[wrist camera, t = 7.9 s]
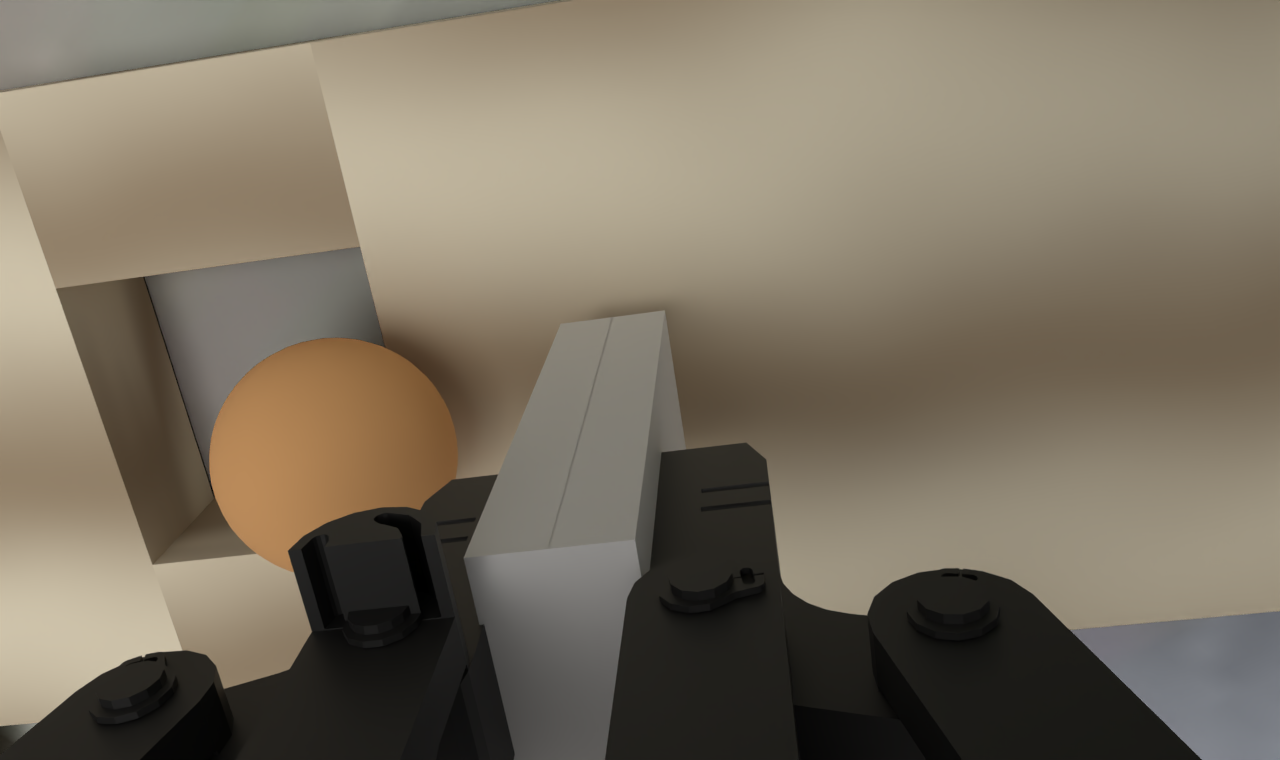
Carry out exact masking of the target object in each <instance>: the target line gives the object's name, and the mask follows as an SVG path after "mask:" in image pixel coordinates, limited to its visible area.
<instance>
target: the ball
mask: <svg viewBox="0 0 1280 760" xmlns="http://www.w3.org/2000/svg"><path fill="white" fill-rule="evenodd" d="M457 466H458V446H457V438H456V433H455V428H454V425H453V421H452V418H451V415H450V412H449V410H448V408H447V406H446V404H445V402H444V400H443V398H442V397H441V395H440V394H439V392H438V391H437V389H436V387H435V386H434V385H433V383H432V382H431V381H430V380H429V379H428V378H427V376H426V375H425V374H423V373H422V372H421V371H420V370H419V369H418V368H417V367H416V366H414V365H413V364H412V363H411V362H410V361H408V360H407V359H405V358H403V357H402V356H400V355H399V354H397V353H395V352H393V351H391V350H389V349H387V348H384V347H382V346H380V345H376V344H373V343H369V342H365V341H362V340H357V339H348V338H322V339H317V340H311V341H306V342H301V343H298V344H295V345H292V346H289V347H287V348H285V349H283V350H281V351H279V352H277V353H275V354H273V355H271V356H269V357H267V358H266V359H264V360H263V361H261V362H260V363H258V364H257V365H256V366H255V367H254V368H252V369H251V370H250V371H249V372H248V373H247V374H246V375H245V376H244V377H243V378H242V379H241V380H240V381H239V382H238V384H237V385H236V386H235V387H234V389H233V390H232V392H231V393H230V394H229V396H228V397H227V399H226V401H225V402H224V404H223V406H222V408H221V410H220V412H219V415H218V417H217V420H216V422H215V425H214V429H213V433H212V437H211V444H210V452H209V469H210V477H211V484H212V488H213V491H214V495H215V498H216V501H217V503H218V505H219V507H220V510H221V512H222V514H223V516H224V518H225V519H226V521H227V522H228V524H229V526H230V527H231V529H232V530H233V531H234V532H235V533H236V535H237V536H238V537H239V538H240V539H241V540H242V541H243V542H244V543H245V544H246V545H247V546H248V547H249V548H250V549H251V550H253V551H254V552H255V553H256V554H258V555H259V556H261V557H263V558H264V559H266V560H267V561H269V562H271V563H272V564H274V565H276V566H278V567H281V568H283V569H286V570H288V571H291V572H294V571H293V567H292V564H291V561H290V557H289V554H288V550H289V549H290V548H291V547H292V546H293V545H294V544H295V543H296V542H298V541H299V540H300V539H301V538H302V537H303V536H304V535H306V534H308V533H309V532H311V531H313V530H315V529H317V528H318V527H320V526H322V525H324V524H325V523H327V522H330V521H333V520H336V519H338V518H341V517H344V516H347V515H349V514H352V513H356V512H361V511H366V510H371V509H376V508H381V507H410V508H414V509H418V510H421V508H422V506H423V504H424V502H425V501H426V500H427V499H429V498H430V497H431V496H432V495H434V494H435V493H436V492H437V491H439V490H440V489H441V488H442V487H444V486H445V485H446V484H447V483H449V482H450V481H451V480H453V479H456V473H457Z"/></svg>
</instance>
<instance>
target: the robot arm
mask: <svg viewBox="0 0 1280 760" xmlns="http://www.w3.org/2000/svg"><path fill="white" fill-rule="evenodd" d="M288 554H289V557H290V561H291V564H292V567H293V571H294V574H295V577H296V581H297V584H298V587H299V591H300V594H301V597H302V601H303V604H304V607H305V610H306V614H307V617H308V620H309V624H310V627H311V630H312V632H311V634H310V636H309V637H308V639H307V641H306V642H305V644H304V646H303V647H302V649H301V651H300V653H299V654H298V656H297V658H296V659H295V661H294V663H293V664H292V666H291V668H290V669H289V670H286V671H283V672H280V673H277V674H274V675H270V676H267V677H263V678H260V679H256V680H253V681H250V682H246V683H243V684H239V685H236V686H232V687H229V688H225V689H224V688H223V685H222V682H221V679H220V676H219V673H218V670H217V667H216V665H215V664H214V663H213V662H212V661H211V660H210V658H209V657H208V656H207V655H205V654H201V653H197V652H192V651H188V650H183V651H170V652H155V653H150V654H146V655H145V657H142V655H141V656H138V657H135V658H132V659H129V660H127V661H125V662H123V663H122V664H121V665H120V666H118V667H116V668H114V669H111V670H109V671H107V672H105V673H103V674H101V675H99V676H98V677H96V678H95V679H93V680H92V681H90V682H89V683H88V684H86V685H85V686H83V687H82V688H80V689H79V690H77V691H76V692H74V693H73V694H72V695H71V696H70V697H69V698H67V699H66V700H65V701H64V702H63V703H61V704H60V705H59V706H58V707H57V708H55V709H54V710H53V711H52V712H51V713H49V714H48V715H47V716H46V717H45V718H44V719H42V720H41V721H40V722H39V723H38V724H36V725H35V726H34V727H33V728H32V729H30V730H29V731H28V732H27V733H26V734H24V735H23V736H22V737H21V738H20V739H18V740H17V741H16V742H15V743H14V744H13V745H11V746H10V747H9V748H8V749H7V750H5V751H4V752H3V753H2V754H1V755H0V760H1202V759H1200V758H1199V757H1198V756H1197V755H1196V754H1195V753H1194V752H1193V751H1192V750H1191V749H1190V748H1189V747H1188V746H1187V745H1186V744H1185V743H1184V742H1183V741H1182V740H1181V739H1180V738H1179V737H1178V736H1177V735H1176V734H1175V733H1174V732H1173V731H1172V730H1171V729H1170V728H1169V727H1168V726H1167V725H1166V724H1165V723H1164V722H1163V721H1162V720H1161V719H1160V718H1159V717H1158V716H1157V715H1156V714H1155V713H1154V712H1153V711H1152V710H1151V709H1150V708H1149V707H1148V706H1147V705H1145V704H1144V703H1143V702H1142V701H1141V700H1140V699H1139V698H1138V697H1137V696H1136V695H1135V694H1134V693H1133V692H1132V691H1131V690H1130V689H1129V688H1128V687H1127V686H1126V685H1125V684H1124V683H1123V682H1122V681H1121V680H1120V679H1119V678H1118V677H1117V676H1116V675H1115V674H1114V673H1113V672H1112V671H1111V670H1110V669H1109V668H1108V667H1107V666H1106V665H1105V664H1104V663H1103V662H1102V661H1101V660H1100V659H1099V658H1098V657H1097V656H1096V655H1095V654H1094V653H1093V652H1092V651H1090V650H1089V649H1088V648H1087V647H1086V646H1085V645H1084V644H1083V643H1082V642H1081V641H1080V640H1079V639H1078V638H1077V637H1076V636H1075V635H1074V634H1073V633H1072V632H1071V631H1070V630H1069V629H1068V628H1067V627H1066V626H1065V625H1064V624H1063V623H1062V622H1061V621H1060V620H1059V619H1058V618H1057V617H1056V616H1055V615H1054V614H1053V613H1052V612H1051V611H1050V610H1049V609H1048V608H1047V607H1046V606H1045V605H1044V604H1043V603H1042V602H1041V601H1040V600H1039V599H1038V598H1037V597H1035V596H1034V595H1033V594H1032V593H1031V592H1029V591H1028V590H1026V589H1024V588H1023V587H1021V586H1020V585H1018V584H1017V583H1015V582H1014V581H1012V580H1010V579H1007V578H1004V577H1000V576H997V575H994V574H990V573H987V572H984V571H978V570H971V569H964V568H963V569H959V568H943V569H940V570H933V571H925V572H918V573H916V574H913V575H910V576H907V577H905V578H902V579H899V580H896V581H894V582H892V583H891V584H889V585H888V586H887V587H886V588H884V589H883V590H882V591H880V592H879V593H878V594H877V595H875V596H874V598H873V601H872V603H871V606H870V608H869V611H868V613H867V615H858V614H849V613H843V612H837V611H832V610H827V609H824V608H821V607H818V606H815V605H812V604H809V603H807V602H805V601H804V600H802V599H800V598H799V597H797V596H796V595H794V594H793V593H792V592H791V591H790V590H789V589H788V588H787V587H786V586H785V585H784V584H783V581H782V578H781V572H780V564H779V556H778V548H777V540H776V532H775V524H774V516H773V508H772V500H771V492H770V484H769V476H768V468H767V460H766V459H765V458H764V457H763V456H762V455H761V454H759V453H758V452H757V451H756V450H755V449H753V448H752V447H751V446H750V445H749V444H748V443H737V444H729V445H720V446H711V447H703V448H694V449H686V445H685V439H684V432H683V426H682V419H681V413H680V406H679V399H678V393H677V386H676V380H675V373H674V367H673V360H672V353H671V347H670V340H669V334H668V327H667V321H666V314H665V310H663V311H656V312H648V313H640V314H633V315H625V316H617V317H609V318H602V319H594V320H586V321H579V322H571V323H563V324H560V327H559V329H558V332H557V334H556V336H555V339H554V341H553V344H552V346H551V348H550V351H549V353H548V356H547V358H546V361H545V363H544V365H543V368H542V370H541V373H540V375H539V377H538V380H537V382H536V385H535V387H534V389H533V392H532V394H531V397H530V399H529V402H528V404H527V406H526V409H525V411H524V414H523V416H522V418H521V421H520V423H519V426H518V428H517V430H516V433H515V435H514V438H513V440H512V442H511V445H510V447H509V450H508V452H507V455H506V457H505V459H504V462H503V464H502V467H501V469H500V471H499V474H496V475H488V476H479V477H470V478H462V479H453V480H451V481H450V482H449V483H447V484H446V485H445V486H444V487H442V488H441V489H440V490H439V491H437V492H436V493H435V494H434V495H432V496H431V497H430V498H429V499H427V500H426V501H425V502H424V504H423V506H422V508H421V510H418V509H414V508H410V507H381V508H376V509H371V510H366V511H361V512H356V513H352V514H349V515H347V516H344V517H341V518H338V519H336V520H333V521H330V522H327V523H325V524H324V525H322V526H320V527H318V528H317V529H315V530H313V531H311V532H309V533H308V534H306V535H304V536H303V537H302V538H301V539H300V540H299V541H298V542H296V543H295V544H294V545H293V546H292V547H291V548H290V549H289V550H288Z"/></svg>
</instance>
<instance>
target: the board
mask: <svg viewBox="0 0 1280 760" xmlns="http://www.w3.org/2000/svg"><path fill="white" fill-rule="evenodd" d="M353 247H360V248H361V252H362V256H363V260H364V264H365V268H366V272H367V276H368V280H369V284H370V288H371V292H372V296H373V301H374V305H375V309H376V313H377V317H378V321H379V325H380V329H381V333H382V337H383V341H384V345H385V348H387V349H389V350H391V351H393V352H395V353H397V354H399V355H400V356H402V357H403V358H405V359H407V360H408V361H410V362H411V363H412V364H413V365H414V366H416V367H417V368H418V369H419V370H420V371H421V372H422V373H423V374H425V375H426V376H427V378H428V379H429V380H430V381H431V382H432V383H433V385H434V386H435V387H436V389H437V391H438V392H439V394H440V395H441V397H442V398H443V400H444V402H445V404H446V406H447V408H448V410H449V412H450V415H451V418H452V421H453V425H454V428H455V433H456V438H457V446H458V466H457V473H456V479H462V478H470V477H479V476H488V475H496V474H499V471H500V469H501V467H502V464H503V462H504V459H505V457H506V455H507V452H508V450H509V447H510V445H511V442H512V440H513V438H514V435H515V433H516V430H517V428H518V426H519V423H520V421H521V418H522V416H523V414H524V411H525V409H526V406H527V404H528V402H529V399H530V397H531V394H532V392H533V389H534V387H535V385H536V382H537V380H538V377H539V375H540V373H541V370H542V368H543V365H544V363H545V361H546V358H547V356H548V353H549V351H550V348H551V346H552V344H553V341H554V339H555V336H556V334H557V332H558V329H559V327H560V324H563V323H571V322H579V321H586V320H594V319H602V318H609V317H617V316H625V315H633V314H640V313H648V312H656V311H663V310H665V314H666V321H667V327H668V334H669V340H670V347H671V353H672V360H673V367H674V373H675V380H676V386H677V393H678V399H679V406H680V413H681V419H682V426H683V432H684V439H685V445H686V449H694V448H703V447H711V446H720V445H729V444H737V443H748V444H749V445H750V446H751V447H752V448H753V449H755V450H756V451H757V452H758V453H759V454H761V455H762V456H763V457H764V458H765V459H766V460H767V468H768V476H769V484H770V492H771V500H772V508H773V516H774V524H775V532H776V540H777V548H778V556H779V564H780V572H781V578H782V581H783V584H784V585H785V586H786V587H787V588H788V589H789V590H790V591H791V592H792V593H793V594H794V595H796V596H797V597H799V598H800V599H802V600H804V601H805V602H807V603H809V604H812V605H815V606H818V607H821V608H824V609H827V610H832V611H837V612H843V613H849V614H858V615H867V613H868V611H869V608H870V606H871V603H872V601H873V598H874V596H875V595H877V594H878V593H879V592H880V591H882V590H883V589H884V588H886V587H887V586H888V585H889V584H891V583H892V582H894V581H896V580H899V579H902V578H905V577H907V576H910V575H913V574H916V573H918V572H925V571H933V570H940V569H943V568H959V569H963V568H964V569H971V570H978V571H984V572H987V573H990V574H994V575H997V576H1000V577H1004V578H1007V579H1010V580H1012V581H1014V582H1015V583H1017V584H1018V585H1020V586H1021V587H1023V588H1024V589H1026V590H1028V591H1029V592H1031V593H1032V594H1033V595H1034V596H1035V597H1037V598H1038V599H1039V600H1040V601H1041V602H1042V603H1043V604H1044V605H1045V606H1046V607H1047V608H1048V609H1049V610H1050V611H1051V612H1052V613H1053V614H1054V615H1055V616H1056V617H1057V618H1058V619H1059V620H1060V621H1061V622H1062V623H1063V624H1064V625H1065V626H1066V627H1067V628H1068V629H1069V630H1075V629H1086V628H1097V627H1108V626H1119V625H1130V624H1142V623H1153V622H1164V621H1175V620H1186V619H1197V618H1208V617H1220V616H1231V615H1242V614H1253V613H1264V612H1275V611H1280V0H559V1H553V2H547V3H541V4H535V5H528V6H522V7H516V8H510V9H504V10H497V11H491V12H485V13H479V14H473V15H466V16H460V17H454V18H448V19H442V20H435V21H429V22H423V23H417V24H411V25H404V26H398V27H392V28H386V29H380V30H373V31H367V32H361V33H355V34H349V35H342V36H336V37H330V38H324V39H318V40H311V41H305V42H299V43H293V44H287V45H280V46H274V47H268V48H262V49H256V50H249V51H243V52H237V53H231V54H225V55H218V56H212V57H206V58H200V59H194V60H187V61H181V62H175V63H169V64H163V65H156V66H150V67H144V68H138V69H132V70H125V71H119V72H113V73H107V74H101V75H94V76H88V77H82V78H76V79H70V80H63V81H57V82H51V83H45V84H39V85H32V86H26V87H20V88H14V89H8V90H1V91H0V726H5V725H17V724H28V723H39V722H40V721H41V720H42V719H44V718H45V717H46V716H47V715H48V714H49V713H51V712H52V711H53V710H54V709H55V708H57V707H58V706H59V705H60V704H61V703H63V702H64V701H65V700H66V699H67V698H69V697H70V696H71V695H72V694H73V693H74V692H76V691H77V690H79V689H80V688H82V687H83V686H85V685H86V684H88V683H89V682H90V681H92V680H93V679H95V678H96V677H98V676H99V675H101V674H103V673H105V672H107V671H109V670H111V669H114V668H116V667H118V666H120V665H121V664H122V663H123V662H125V661H127V660H129V659H132V658H135V657H138V656H141V655H142V657H145V655H146V654H150V653H155V652H170V651H183V650H188V651H192V652H197V653H201V654H205V655H207V656H208V657H209V658H210V660H211V661H212V662H213V663H214V664H215V665H216V667H217V670H218V673H219V676H220V679H221V682H222V685H223V688H224V689H225V688H229V687H232V686H236V685H239V684H243V683H246V682H250V681H253V680H256V679H260V678H263V677H267V676H270V675H274V674H277V673H280V672H283V671H286V670H289V669H290V668H291V666H292V664H293V663H294V661H295V659H296V658H297V656H298V654H299V653H300V651H301V649H302V647H303V646H304V644H305V642H306V641H307V639H308V637H309V636H310V634H311V632H312V630H311V627H310V624H309V620H308V617H307V614H306V610H305V607H304V604H303V601H302V597H301V594H300V591H299V587H298V584H297V581H296V577H295V574H294V572H291V571H288V570H286V569H283V568H281V567H278V566H276V565H274V564H272V563H271V562H269V561H267V560H266V559H264V558H263V557H261V556H259V555H258V554H256V553H255V552H254V551H253V550H251V549H250V548H249V547H248V546H247V545H246V544H245V543H244V542H243V541H242V540H241V539H240V538H239V537H238V536H237V535H236V533H235V532H234V531H233V530H232V529H231V527H230V526H229V524H228V522H227V521H226V519H225V518H224V516H223V514H222V512H221V510H220V507H219V505H218V503H217V501H216V499H214V497H213V494H212V491H211V487H210V484H209V481H208V478H207V475H206V472H205V469H204V466H203V462H202V459H201V456H200V453H199V450H198V447H197V444H196V441H195V437H194V434H193V431H192V428H191V425H190V422H189V419H188V416H187V412H186V409H185V406H184V403H183V400H182V397H181V394H180V391H179V387H178V384H177V381H176V378H175V375H174V372H173V369H172V366H171V362H170V359H169V356H168V353H167V350H166V347H165V344H164V341H163V337H162V334H161V331H160V328H159V325H158V322H157V319H156V316H155V312H154V309H153V306H152V303H151V300H150V297H149V294H148V291H147V287H146V284H145V281H144V278H143V277H144V276H151V275H158V274H165V273H172V272H180V271H187V270H194V269H201V268H209V267H216V266H223V265H230V264H238V263H245V262H252V261H259V260H267V259H274V258H281V257H288V256H296V255H303V254H310V253H317V252H324V251H332V250H339V249H346V248H353Z"/></svg>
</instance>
